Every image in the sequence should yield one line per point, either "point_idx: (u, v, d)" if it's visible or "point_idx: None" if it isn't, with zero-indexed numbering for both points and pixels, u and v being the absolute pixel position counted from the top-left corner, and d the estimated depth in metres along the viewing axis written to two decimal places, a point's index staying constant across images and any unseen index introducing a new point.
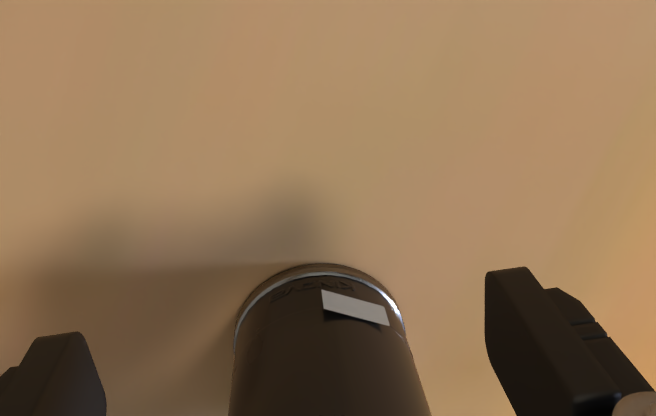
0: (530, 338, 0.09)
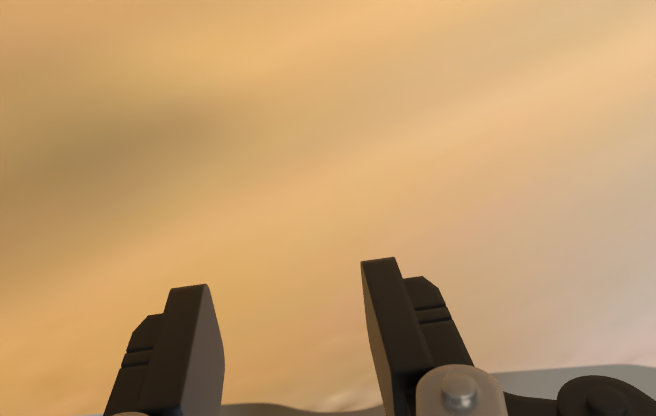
0: (376, 320, 0.10)
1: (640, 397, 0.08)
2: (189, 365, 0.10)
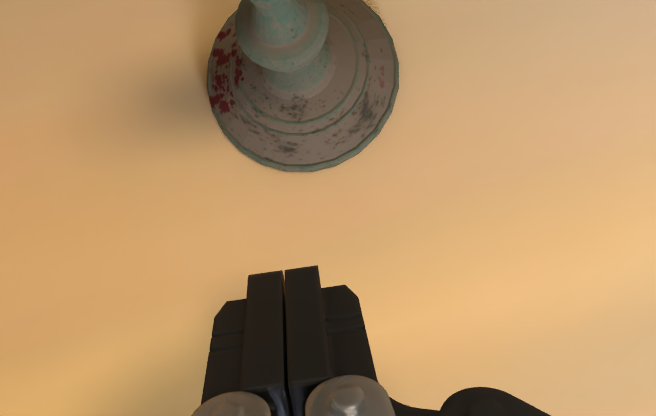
0: None
1: (514, 401, 0.08)
2: (283, 347, 0.10)
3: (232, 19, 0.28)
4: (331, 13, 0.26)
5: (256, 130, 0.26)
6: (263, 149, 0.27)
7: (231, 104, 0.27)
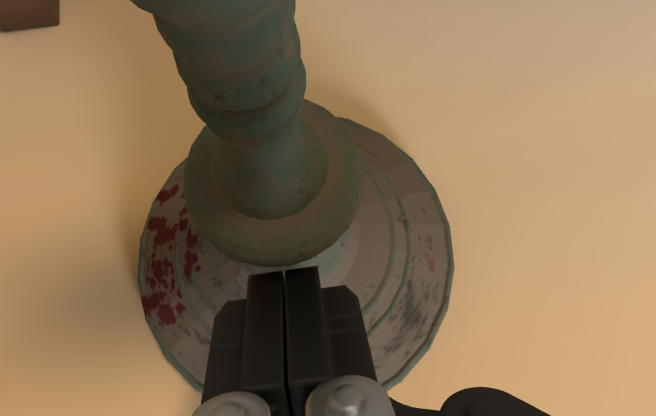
0: None
1: (514, 401, 0.08)
2: (283, 347, 0.10)
3: (181, 170, 0.17)
4: None
5: None
6: None
7: (178, 311, 0.15)
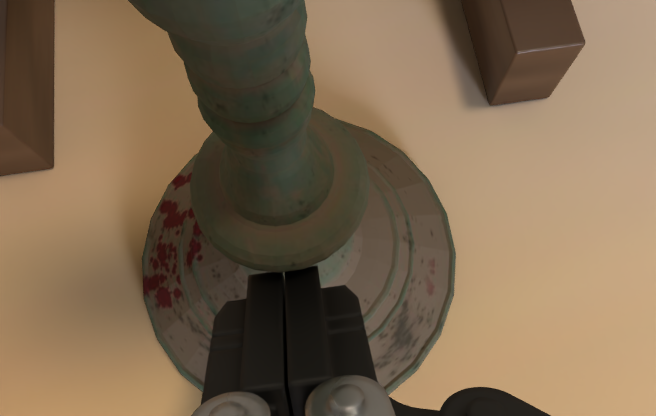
0: None
1: (513, 401, 0.08)
2: (283, 347, 0.10)
3: None
4: None
5: None
6: None
7: (175, 295, 0.16)
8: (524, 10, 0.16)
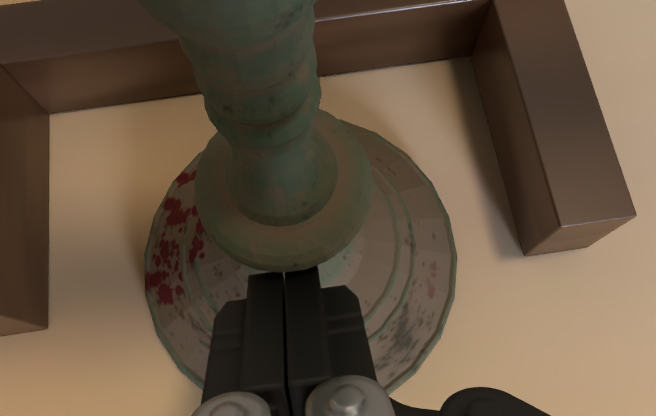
0: None
1: (513, 401, 0.08)
2: (283, 348, 0.10)
3: None
4: None
5: None
6: None
7: (176, 292, 0.16)
8: (567, 175, 0.15)
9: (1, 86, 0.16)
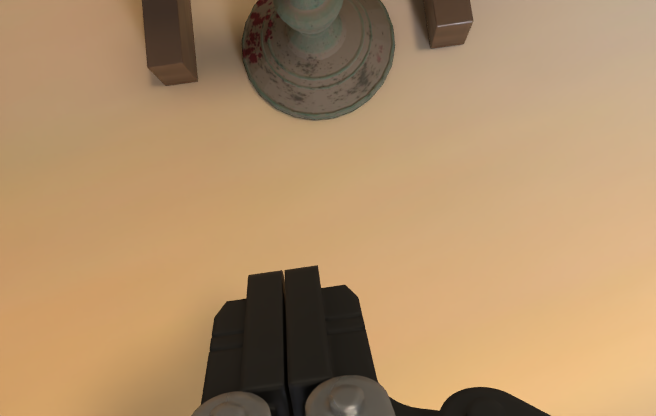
0: None
1: (513, 401, 0.08)
2: (283, 348, 0.10)
3: None
4: None
5: (275, 79, 0.33)
6: (278, 95, 0.34)
7: (258, 56, 0.34)
8: (443, 2, 0.32)
9: None
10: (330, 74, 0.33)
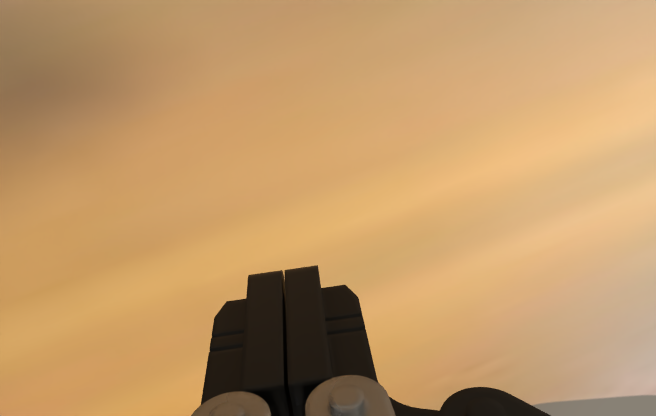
0: None
1: (514, 401, 0.08)
2: (283, 347, 0.10)
3: None
4: None
5: None
6: None
7: None
8: None
9: None
10: None
